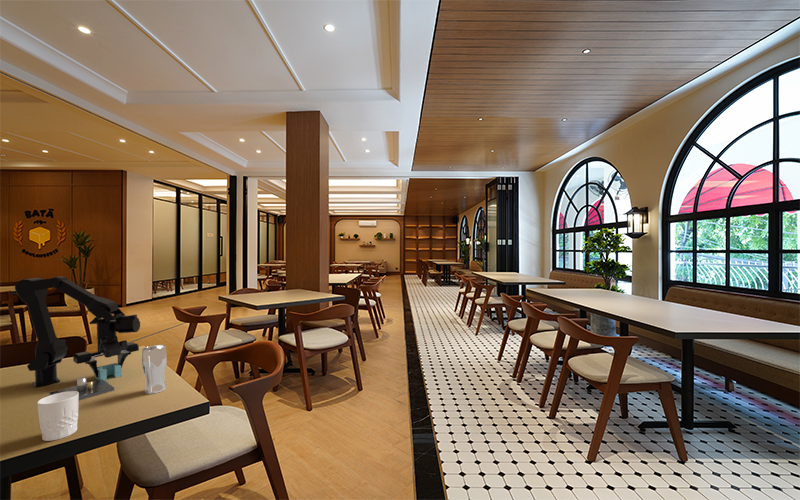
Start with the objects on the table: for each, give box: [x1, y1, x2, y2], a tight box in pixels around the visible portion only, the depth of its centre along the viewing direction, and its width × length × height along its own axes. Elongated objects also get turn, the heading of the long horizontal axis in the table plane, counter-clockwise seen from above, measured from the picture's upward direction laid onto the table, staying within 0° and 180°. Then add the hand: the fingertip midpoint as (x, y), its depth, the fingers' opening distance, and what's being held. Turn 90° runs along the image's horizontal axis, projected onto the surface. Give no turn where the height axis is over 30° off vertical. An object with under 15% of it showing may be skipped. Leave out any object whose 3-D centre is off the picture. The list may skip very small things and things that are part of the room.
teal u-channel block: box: [94, 362, 123, 381], centre depth 134 cm, size 6×6×4 cm
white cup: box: [36, 391, 80, 442], centre depth 93 cm, size 8×8×10 cm
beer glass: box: [141, 344, 168, 395], centre depth 120 cm, size 7×7×15 cm
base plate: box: [48, 376, 115, 401], centre depth 120 cm, size 14×14×5 cm
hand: (108, 374), depth 134 cm, fingers closed on teal u-channel block, 6 cm apart
